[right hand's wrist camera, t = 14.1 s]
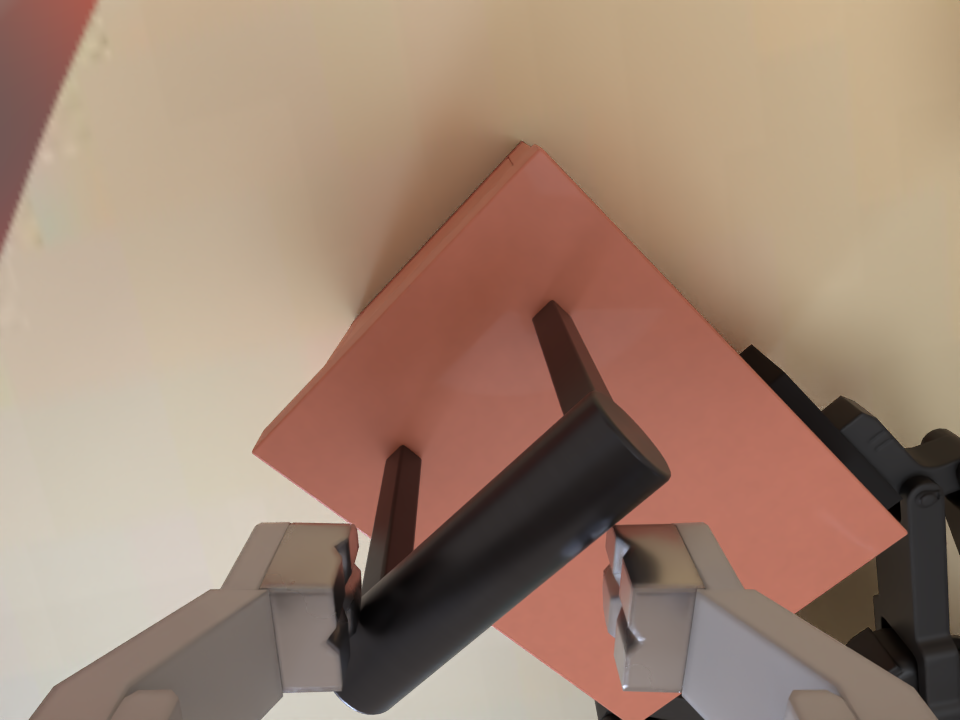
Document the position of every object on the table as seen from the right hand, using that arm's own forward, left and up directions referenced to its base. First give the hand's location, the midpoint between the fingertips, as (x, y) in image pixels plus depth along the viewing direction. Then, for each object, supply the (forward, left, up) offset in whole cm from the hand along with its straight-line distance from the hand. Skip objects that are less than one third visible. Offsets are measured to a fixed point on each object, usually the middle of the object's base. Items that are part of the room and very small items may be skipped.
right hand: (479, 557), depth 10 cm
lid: (+2, -3, -7) cm, 9 cm away
